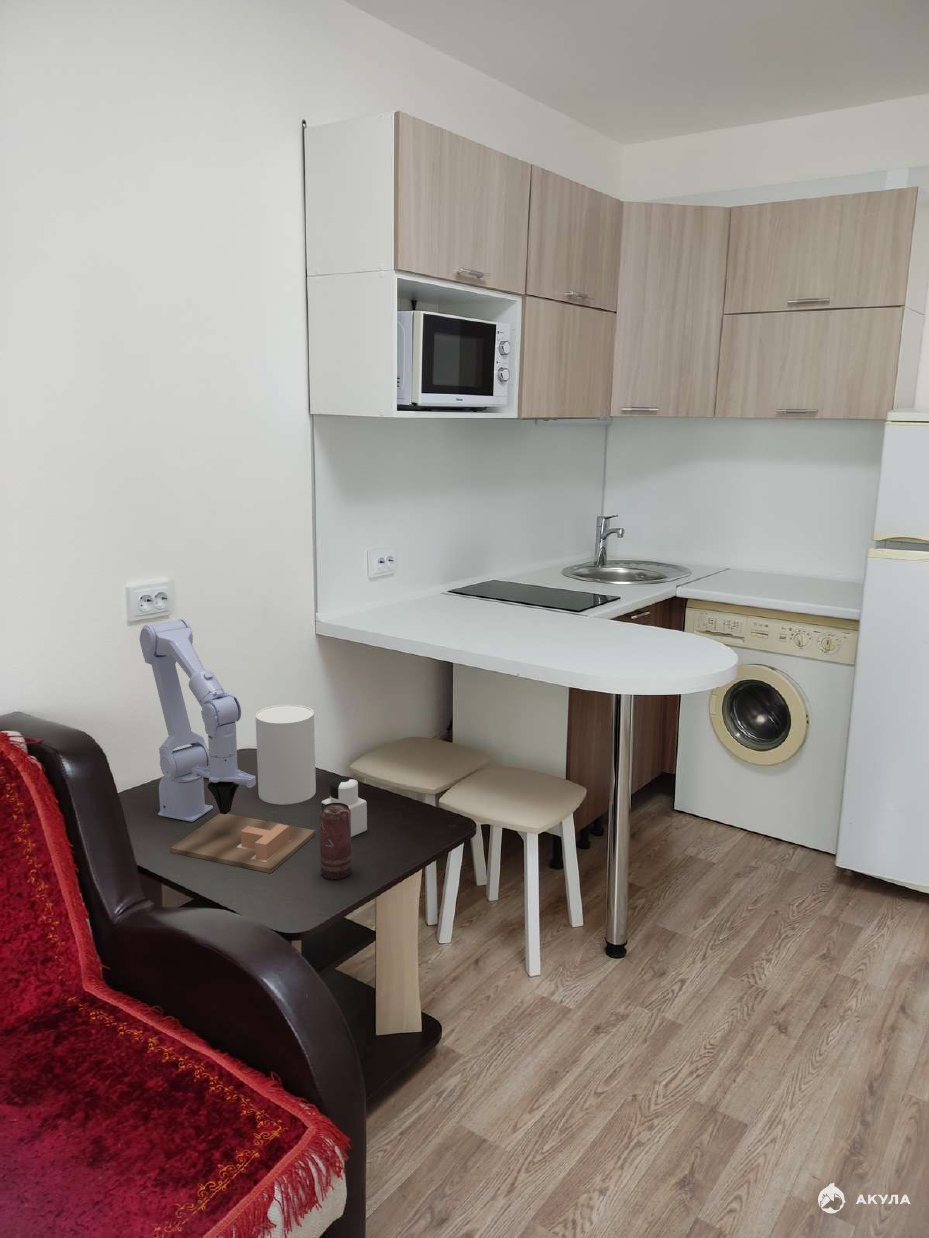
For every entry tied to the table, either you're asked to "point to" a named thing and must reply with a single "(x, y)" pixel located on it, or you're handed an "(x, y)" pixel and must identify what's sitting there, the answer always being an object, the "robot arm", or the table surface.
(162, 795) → the robot arm
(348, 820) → the can
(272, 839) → the t block
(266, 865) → the board
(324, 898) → the table surface
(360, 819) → the medicine bottle
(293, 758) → the canister
